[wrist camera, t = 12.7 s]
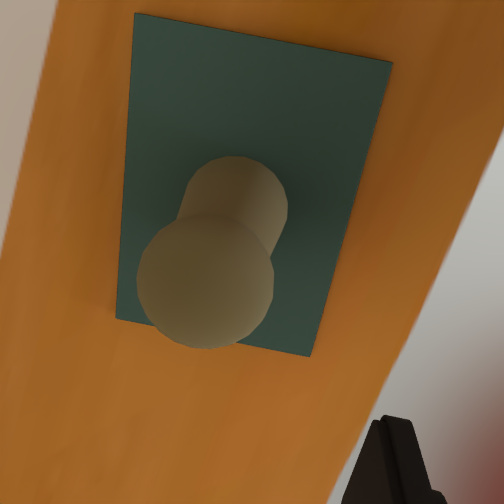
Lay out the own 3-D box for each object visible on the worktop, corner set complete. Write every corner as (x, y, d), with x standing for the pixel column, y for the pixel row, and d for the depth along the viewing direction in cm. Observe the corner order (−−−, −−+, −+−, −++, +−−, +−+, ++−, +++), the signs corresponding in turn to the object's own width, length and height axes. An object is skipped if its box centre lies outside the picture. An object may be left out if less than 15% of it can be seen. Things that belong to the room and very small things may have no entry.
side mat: (391, 62, 22) (393, 62, 22) (309, 352, 30) (310, 357, 29) (137, 13, 22) (134, 12, 22) (117, 314, 30) (115, 318, 29)
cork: (282, 149, 24) (274, 212, 14) (292, 252, 26) (292, 370, 16) (173, 162, 25) (91, 231, 15) (193, 261, 27) (134, 379, 17)
